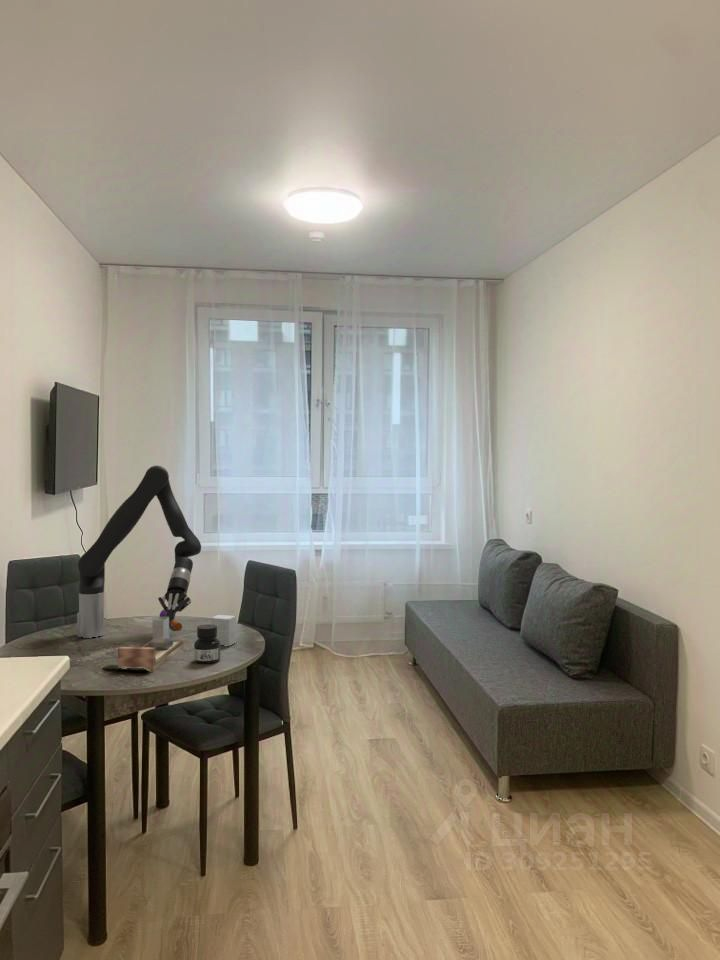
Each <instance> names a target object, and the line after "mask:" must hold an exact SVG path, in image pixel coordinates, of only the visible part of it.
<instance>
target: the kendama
mask: <svg viewBox="0 0 720 960" xmlns="http://www.w3.org/2000/svg"><path fill="white" fill-rule="evenodd" d="M166 615H167V612H165V610H164V609H162V610H161V611H160V613H159V617H166ZM169 623H171V625H172V628H173V629H174V631H181V629H182V627H183V625H182V623H181V622H179V621H177V620H175V619H174V620H172V621H169Z"/></svg>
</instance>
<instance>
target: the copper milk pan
mask: <svg viewBox="0 0 720 960" xmlns="http://www.w3.org/2000/svg"><path fill="white" fill-rule="evenodd" d="M149 642H150V641H148V642H146V643H145V644H144V645H143V646H140V647H139V646H119V647H118V648H117V669H118V668H122V669H127V668H144V669H146V670H147V671H149V672H150V673H151V672H152V673H153V672H155V671H156V670H157V669H159V668H160V667H161V666H162V665H164V664H165V663H166V662H168V660H169V659H171V658H172V657H173V656H174V655H176V654H177V653H178V652H179V651H181V650H182V648H184V647H185V642H184V640H180V641H173V646H171V647H170V648H169V649H156V648H151V647H149Z"/></svg>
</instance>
